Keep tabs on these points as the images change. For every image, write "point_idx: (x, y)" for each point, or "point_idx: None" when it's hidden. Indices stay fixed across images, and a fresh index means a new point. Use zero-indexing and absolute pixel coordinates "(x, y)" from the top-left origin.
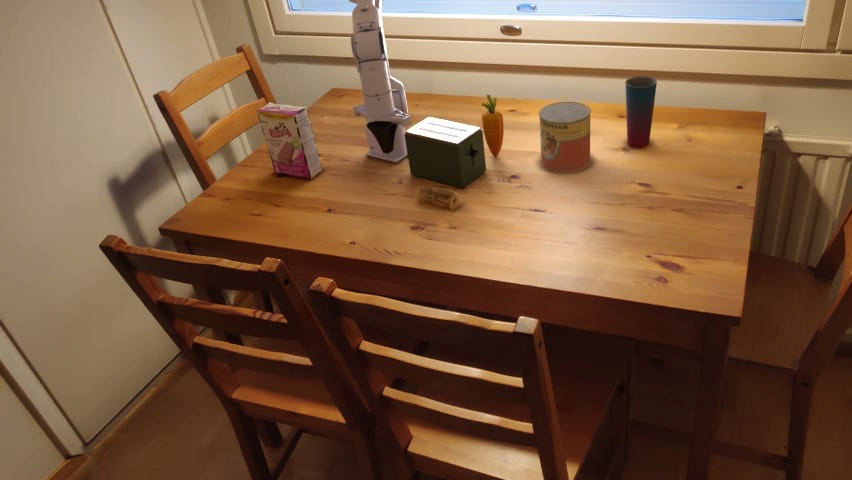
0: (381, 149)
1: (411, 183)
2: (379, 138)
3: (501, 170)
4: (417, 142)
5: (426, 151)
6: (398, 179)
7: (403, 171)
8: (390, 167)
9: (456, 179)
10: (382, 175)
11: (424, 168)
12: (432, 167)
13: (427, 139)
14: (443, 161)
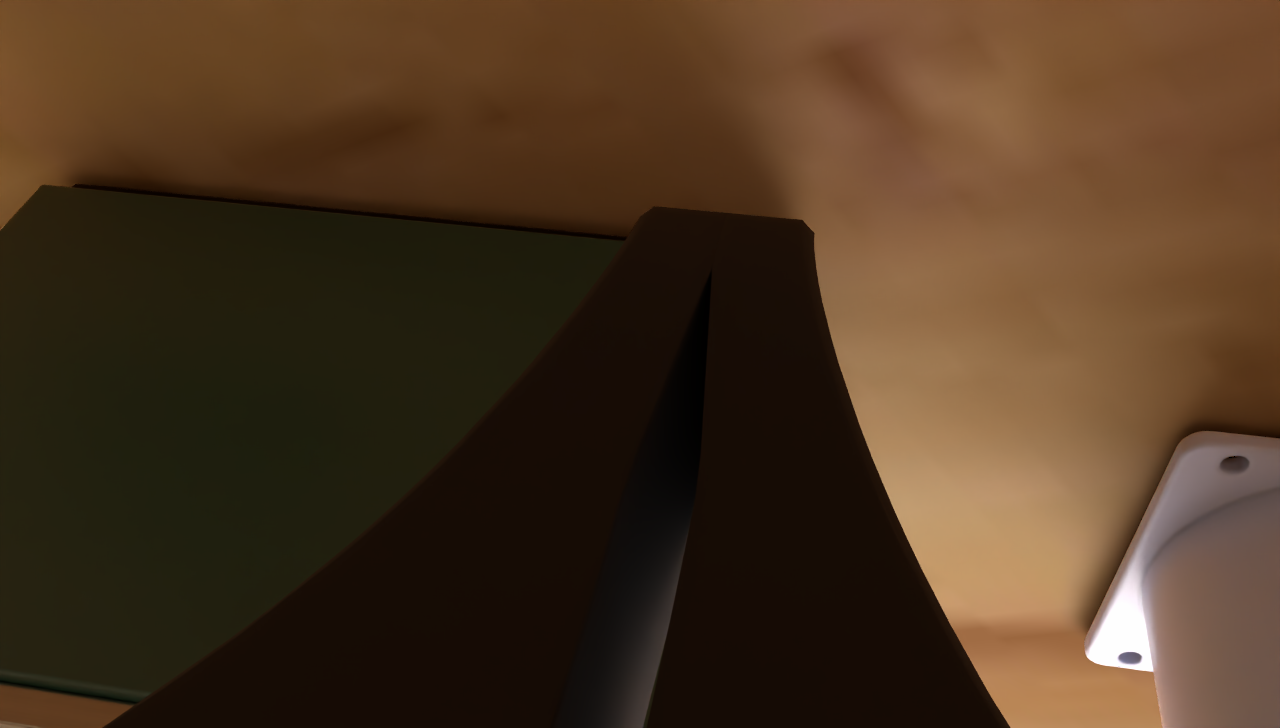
0: (805, 271)
1: (693, 105)
2: (693, 546)
3: None
4: None
5: (362, 525)
6: (934, 134)
7: (984, 305)
8: (1220, 338)
9: (65, 248)
10: (1242, 151)
11: (530, 325)
12: (376, 341)
13: None
14: (121, 414)
